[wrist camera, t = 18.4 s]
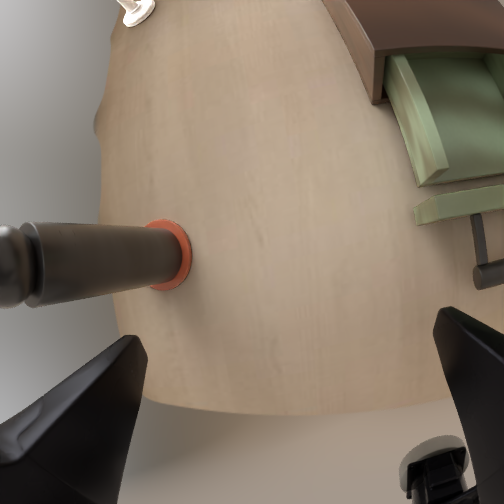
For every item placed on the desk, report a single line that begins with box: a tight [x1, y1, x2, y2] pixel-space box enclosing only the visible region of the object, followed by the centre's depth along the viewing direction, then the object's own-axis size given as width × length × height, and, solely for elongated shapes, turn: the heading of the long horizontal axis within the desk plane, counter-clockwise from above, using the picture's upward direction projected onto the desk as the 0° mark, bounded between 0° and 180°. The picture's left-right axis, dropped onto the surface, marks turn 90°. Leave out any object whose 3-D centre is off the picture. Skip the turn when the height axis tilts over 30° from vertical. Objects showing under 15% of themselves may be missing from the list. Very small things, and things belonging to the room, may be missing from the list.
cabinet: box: [322, 0, 504, 105], centre depth 12 cm, size 13×13×7 cm
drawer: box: [383, 52, 504, 290], centre depth 12 cm, size 17×12×5 cm
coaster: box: [145, 219, 192, 290], centre depth 24 cm, size 6×6×1 cm
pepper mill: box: [0, 222, 182, 309], centre depth 16 cm, size 5×5×16 cm
